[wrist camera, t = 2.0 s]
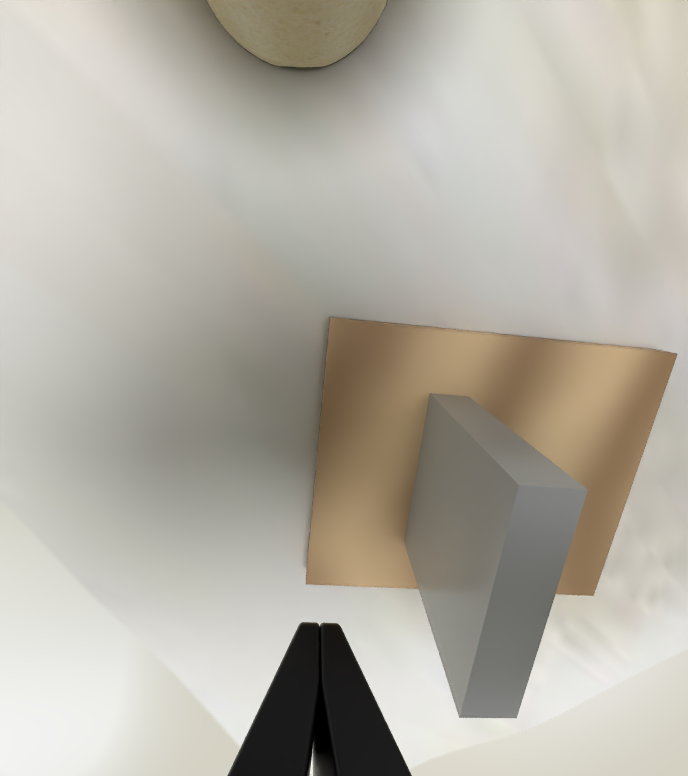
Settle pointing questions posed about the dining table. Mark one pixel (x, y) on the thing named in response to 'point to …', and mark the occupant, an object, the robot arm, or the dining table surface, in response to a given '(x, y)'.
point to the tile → (487, 550)
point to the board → (501, 399)
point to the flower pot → (298, 28)
